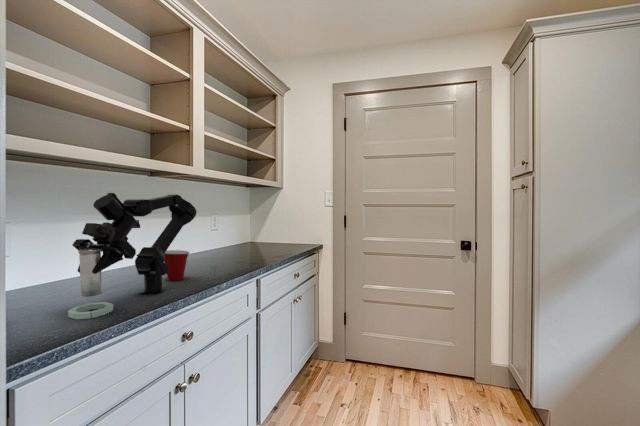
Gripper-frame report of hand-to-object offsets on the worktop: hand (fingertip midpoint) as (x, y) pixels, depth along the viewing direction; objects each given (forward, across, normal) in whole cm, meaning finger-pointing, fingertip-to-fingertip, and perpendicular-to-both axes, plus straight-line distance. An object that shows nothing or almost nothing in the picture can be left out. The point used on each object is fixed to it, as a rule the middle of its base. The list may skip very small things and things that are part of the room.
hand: (86, 272), depth 92 cm
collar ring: (+8, 0, +9) cm, 12 cm away
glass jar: (+4, 0, +6) cm, 7 cm away
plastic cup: (-21, -5, +39) cm, 45 cm away
